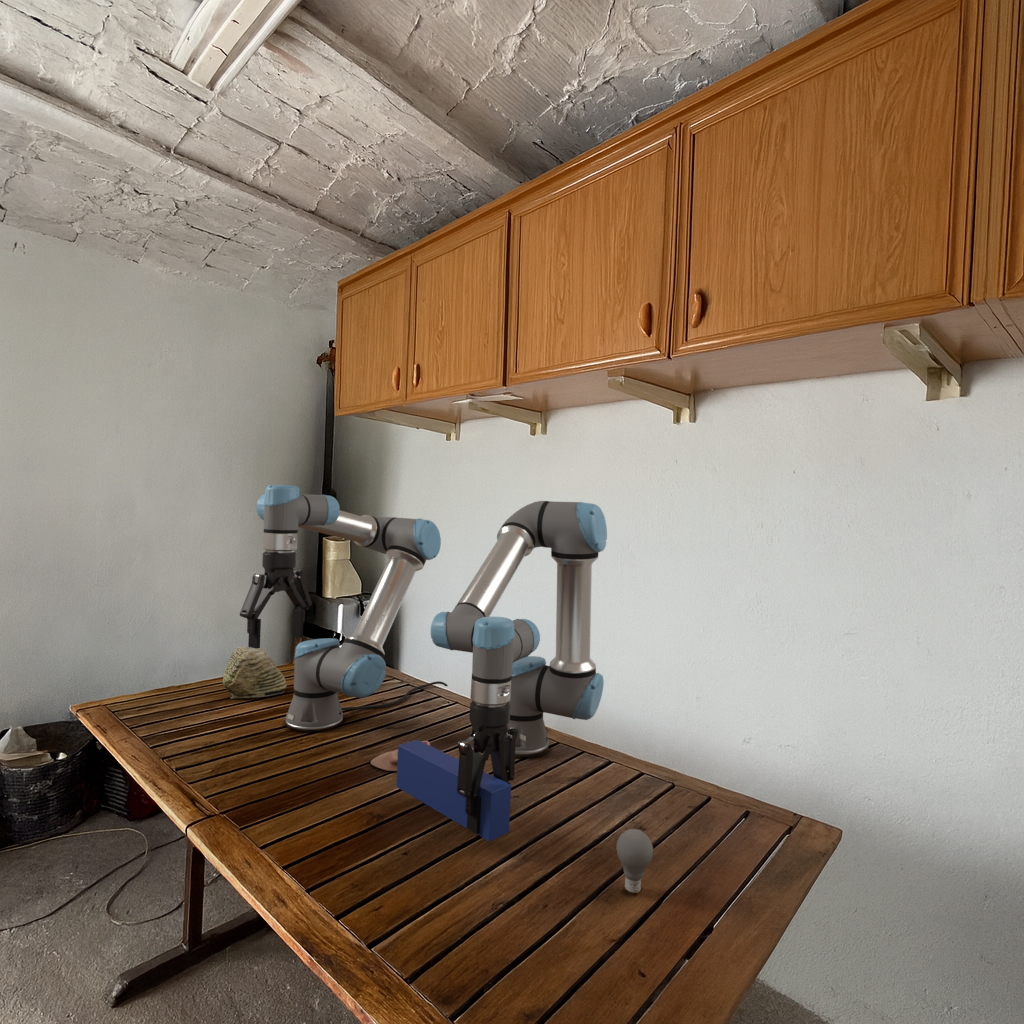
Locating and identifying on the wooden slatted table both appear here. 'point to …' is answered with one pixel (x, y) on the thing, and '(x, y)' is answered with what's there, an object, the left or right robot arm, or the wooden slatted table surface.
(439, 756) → the bar
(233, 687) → the fossil
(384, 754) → the anatomical model
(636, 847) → the light bulb
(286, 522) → the left robot arm
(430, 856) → the wooden slatted table surface
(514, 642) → the right robot arm
